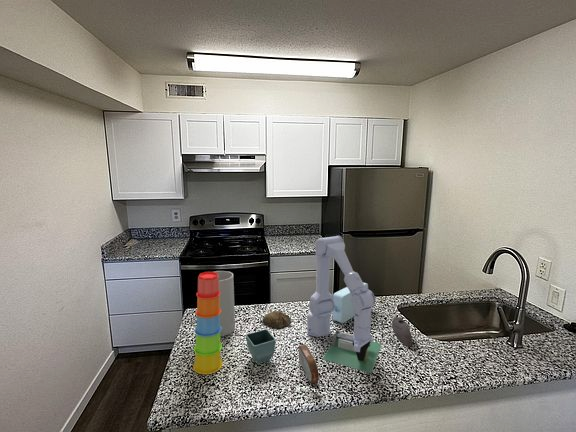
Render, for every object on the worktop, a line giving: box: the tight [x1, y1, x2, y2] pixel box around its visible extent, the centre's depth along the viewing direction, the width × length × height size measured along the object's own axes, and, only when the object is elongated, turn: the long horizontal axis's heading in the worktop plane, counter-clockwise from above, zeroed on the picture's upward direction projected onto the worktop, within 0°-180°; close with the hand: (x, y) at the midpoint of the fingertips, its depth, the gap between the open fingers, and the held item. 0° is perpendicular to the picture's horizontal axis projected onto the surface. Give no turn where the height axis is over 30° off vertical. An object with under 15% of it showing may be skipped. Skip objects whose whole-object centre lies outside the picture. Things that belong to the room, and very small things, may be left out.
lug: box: [364, 349, 368, 362], centre depth 114 cm, size 3×6×4 cm, turn 153°
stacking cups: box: [192, 271, 224, 375], centre depth 109 cm, size 10×10×35 cm
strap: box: [333, 331, 372, 347], centre depth 121 cm, size 15×4×1 cm, turn 63°
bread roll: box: [262, 310, 292, 329], centre depth 143 cm, size 13×12×5 cm
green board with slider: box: [322, 329, 383, 374], centre depth 118 cm, size 18×20×4 cm
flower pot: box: [245, 328, 277, 365], centre depth 115 cm, size 9×9×9 cm
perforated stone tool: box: [391, 316, 413, 348], centre depth 127 cm, size 15×5×7 cm, turn 179°
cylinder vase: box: [214, 270, 236, 337], centre depth 134 cm, size 12×12×25 cm
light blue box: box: [331, 282, 369, 324], centre depth 149 cm, size 23×6×13 cm, turn 136°
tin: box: [297, 344, 320, 385], centre depth 106 cm, size 15×3×8 cm, turn 15°
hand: (361, 359), depth 111 cm, fingers closed
